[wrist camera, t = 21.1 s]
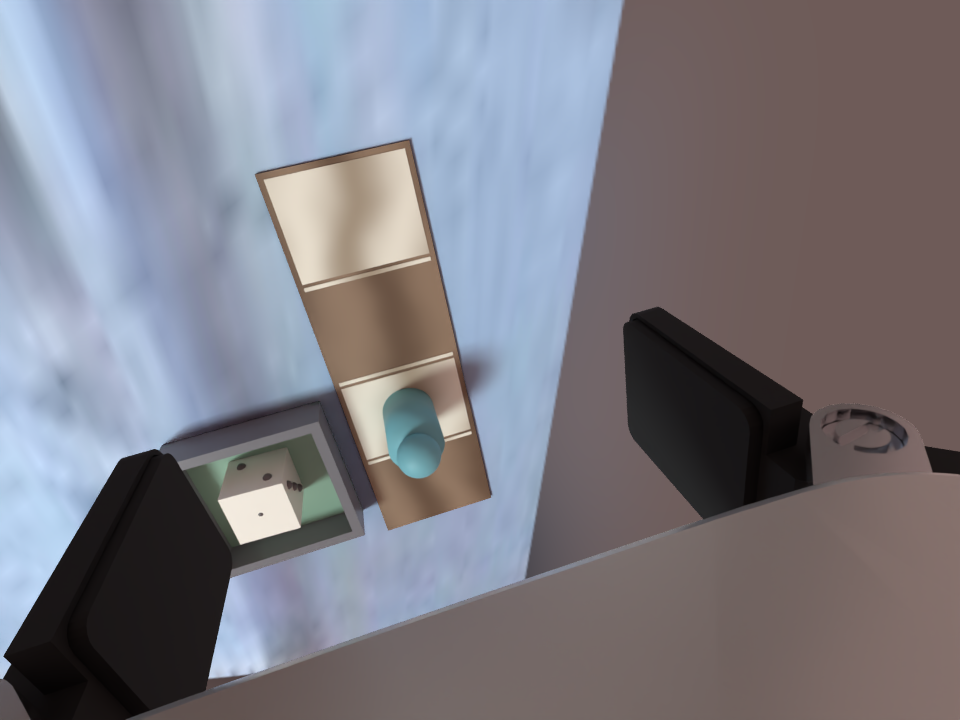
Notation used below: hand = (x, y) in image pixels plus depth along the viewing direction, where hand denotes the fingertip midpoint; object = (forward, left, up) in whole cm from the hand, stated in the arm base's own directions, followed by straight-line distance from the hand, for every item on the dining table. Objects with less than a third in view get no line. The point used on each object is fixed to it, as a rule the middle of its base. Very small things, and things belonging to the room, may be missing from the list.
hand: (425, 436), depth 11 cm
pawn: (-1, -17, -28) cm, 33 cm away
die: (-13, -19, -28) cm, 36 cm away
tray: (-13, -20, -28) cm, 37 cm away
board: (-1, -13, -28) cm, 31 cm away
